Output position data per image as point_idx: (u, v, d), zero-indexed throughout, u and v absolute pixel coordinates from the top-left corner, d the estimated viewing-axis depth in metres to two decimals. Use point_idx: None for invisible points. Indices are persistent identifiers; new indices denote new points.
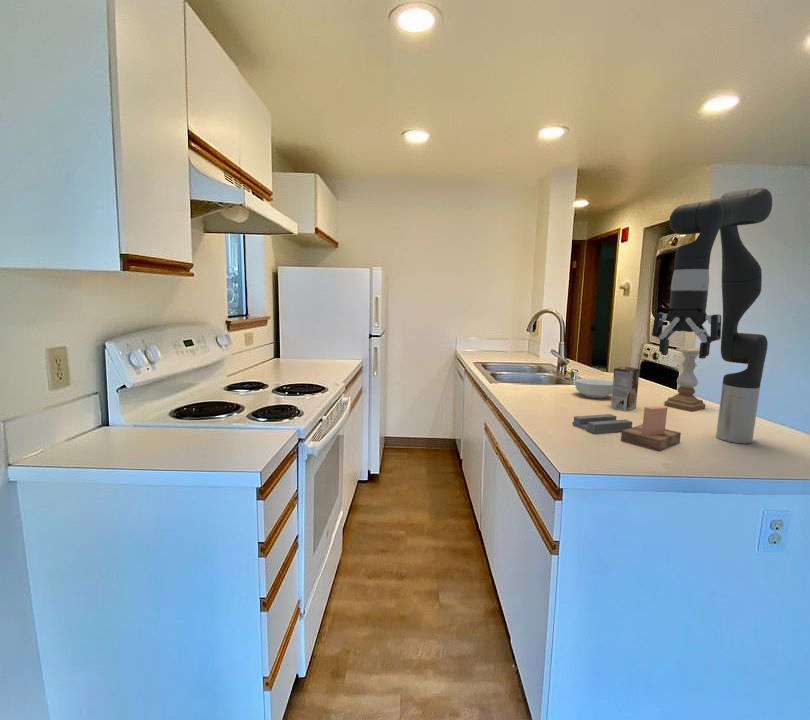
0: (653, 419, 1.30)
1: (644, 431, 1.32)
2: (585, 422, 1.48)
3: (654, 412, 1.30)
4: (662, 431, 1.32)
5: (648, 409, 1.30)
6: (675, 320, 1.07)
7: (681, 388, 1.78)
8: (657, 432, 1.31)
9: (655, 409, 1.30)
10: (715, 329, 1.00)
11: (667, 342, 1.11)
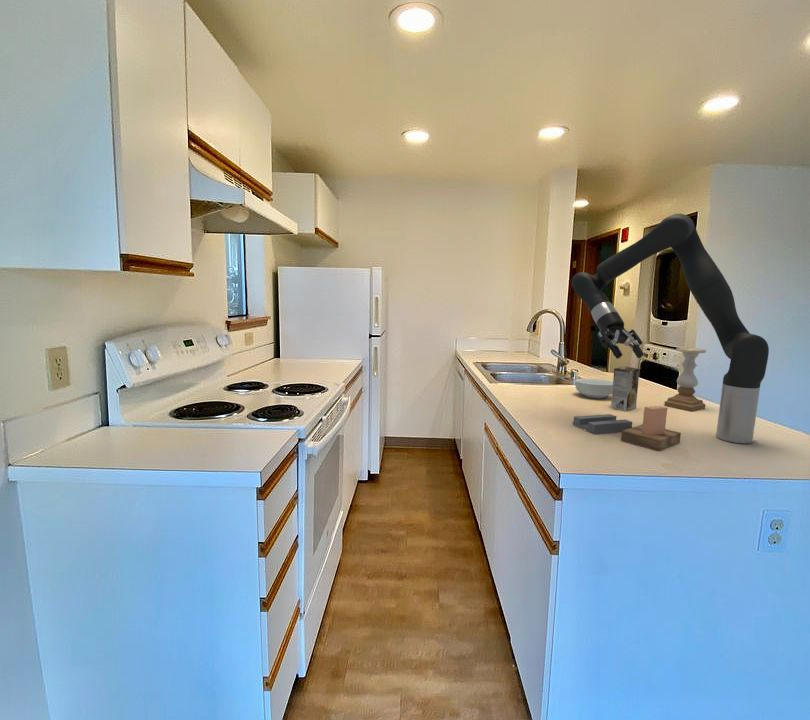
0: (653, 419, 1.30)
1: (644, 431, 1.32)
2: (585, 422, 1.48)
3: (654, 412, 1.30)
4: (662, 431, 1.32)
5: (648, 409, 1.30)
6: None
7: (681, 388, 1.78)
8: (657, 432, 1.31)
9: (655, 409, 1.30)
10: None
11: (636, 348, 1.42)
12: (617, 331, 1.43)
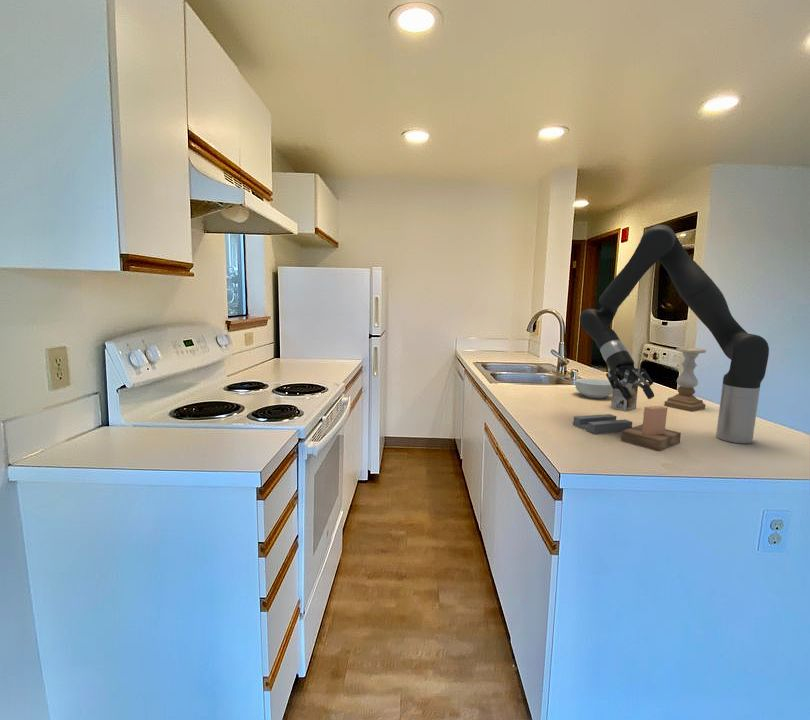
0: (653, 419, 1.30)
1: (644, 431, 1.32)
2: (585, 422, 1.48)
3: (654, 412, 1.30)
4: (662, 431, 1.32)
5: (648, 409, 1.30)
6: None
7: (681, 388, 1.78)
8: (657, 432, 1.31)
9: (655, 409, 1.30)
10: None
11: (646, 389, 1.39)
12: (626, 371, 1.40)
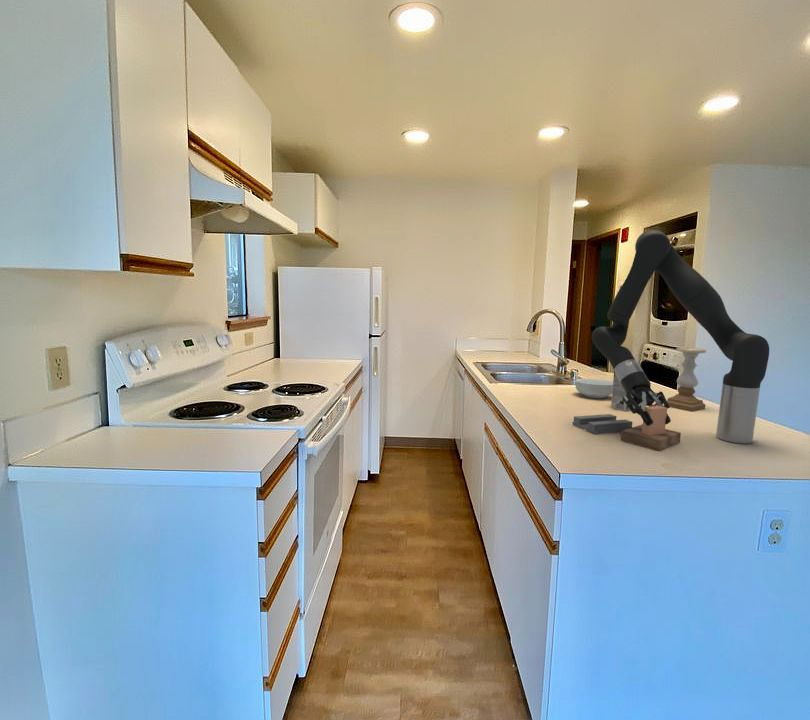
0: (653, 419, 1.30)
1: (644, 431, 1.32)
2: (585, 422, 1.48)
3: (654, 412, 1.30)
4: (662, 431, 1.32)
5: (648, 409, 1.30)
6: None
7: (681, 388, 1.78)
8: (657, 432, 1.31)
9: (655, 409, 1.30)
10: None
11: None
12: (643, 393, 1.34)
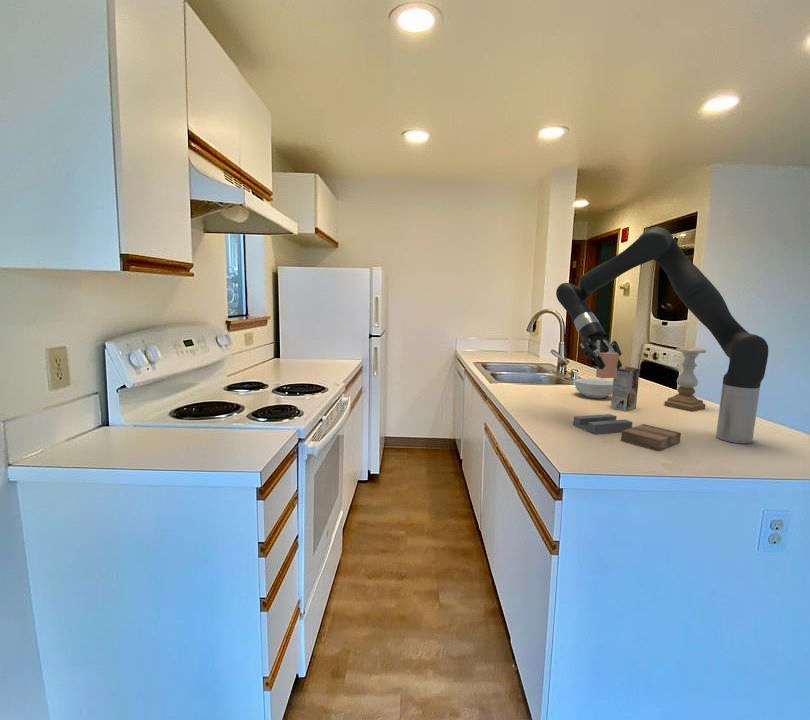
0: (606, 364, 1.43)
1: (598, 375, 1.44)
2: (585, 422, 1.48)
3: (606, 357, 1.42)
4: (614, 375, 1.44)
5: (601, 354, 1.43)
6: None
7: (681, 388, 1.78)
8: (609, 376, 1.44)
9: (607, 354, 1.42)
10: None
11: None
12: (598, 341, 1.46)
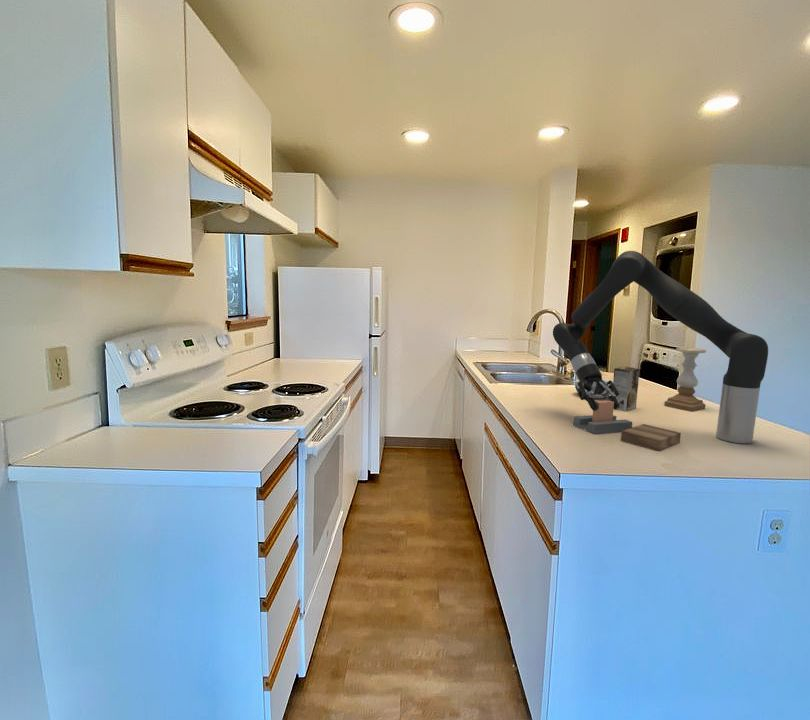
0: (601, 412, 1.45)
1: None
2: (585, 422, 1.48)
3: (602, 406, 1.45)
4: None
5: (596, 403, 1.45)
6: None
7: (681, 388, 1.78)
8: None
9: (603, 403, 1.45)
10: None
11: (612, 399, 1.48)
12: (594, 383, 1.48)
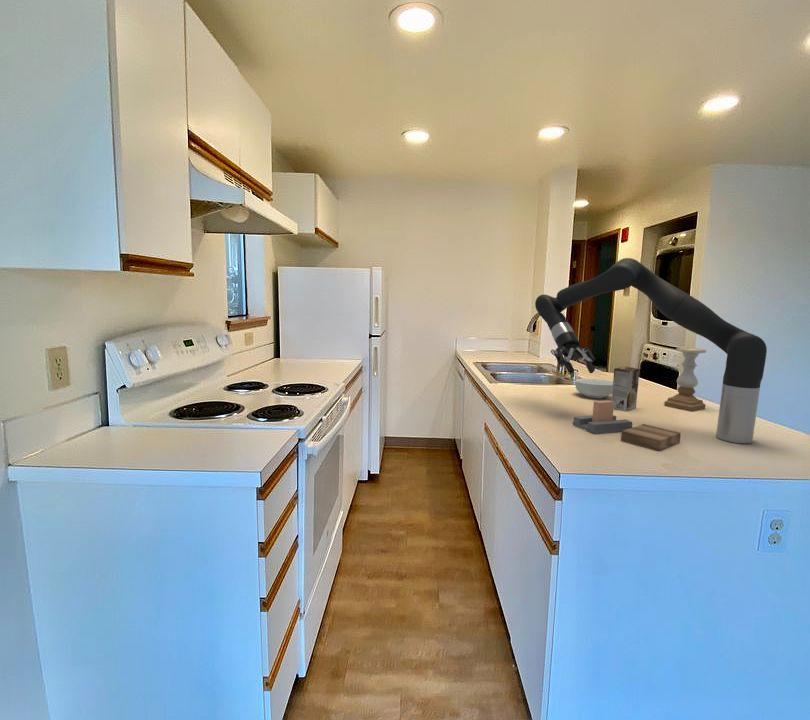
0: (601, 412, 1.45)
1: None
2: (585, 422, 1.48)
3: (602, 406, 1.45)
4: None
5: (596, 403, 1.45)
6: None
7: (681, 388, 1.78)
8: None
9: (603, 403, 1.45)
10: None
11: (588, 364, 1.58)
12: (571, 349, 1.59)
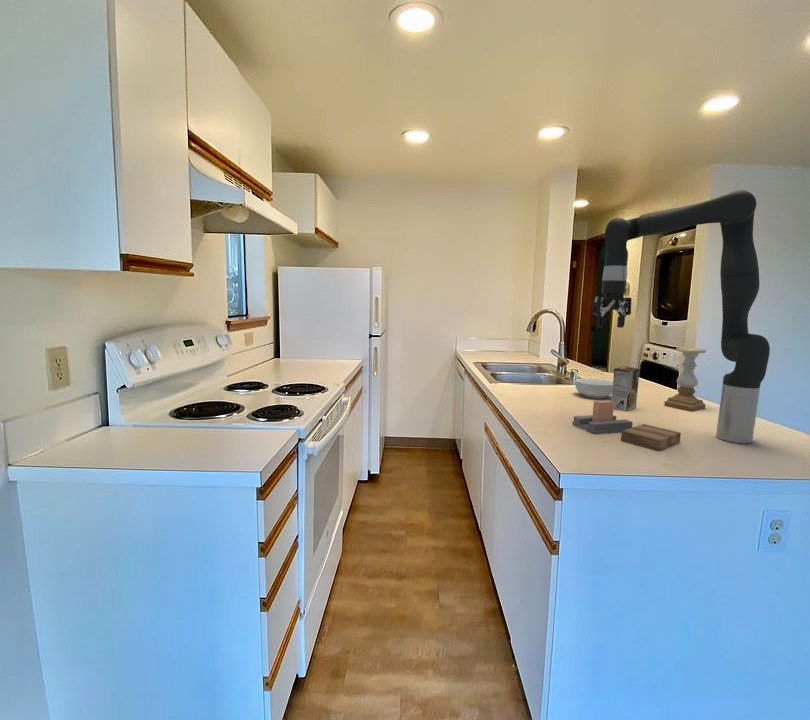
0: (601, 412, 1.45)
1: None
2: (585, 422, 1.48)
3: (602, 406, 1.45)
4: None
5: (596, 403, 1.45)
6: None
7: (681, 388, 1.78)
8: None
9: (603, 403, 1.45)
10: None
11: (621, 318, 1.52)
12: (612, 301, 1.49)
